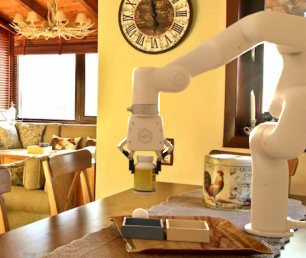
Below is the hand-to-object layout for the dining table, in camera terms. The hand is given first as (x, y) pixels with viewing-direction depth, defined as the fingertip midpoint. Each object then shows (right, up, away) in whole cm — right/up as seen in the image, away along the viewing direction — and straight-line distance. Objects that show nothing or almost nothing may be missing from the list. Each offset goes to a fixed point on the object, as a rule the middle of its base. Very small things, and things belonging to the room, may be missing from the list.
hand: (144, 173), depth 147 cm
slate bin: (0, -18, +1) cm, 18 cm away
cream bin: (+11, -18, -2) cm, 21 cm away
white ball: (+1, -17, +11) cm, 21 cm away
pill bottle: (0, -6, 0) cm, 6 cm away
